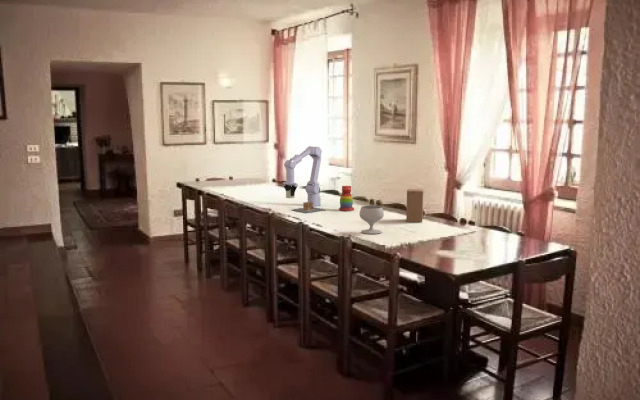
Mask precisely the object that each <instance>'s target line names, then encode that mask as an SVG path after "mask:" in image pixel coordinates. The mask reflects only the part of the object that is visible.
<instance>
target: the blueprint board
mask: <svg viewBox="0 0 640 400" xmlns="http://www.w3.org/2000/svg"><path fill="white" fill-rule="evenodd" d="M292 211H293V212H298V213H302V214H312V213H318V212H323V211H326V208H325V209H324V208H320V207H315V206H313V210H303V207H301V208H300V207H299V208H294V209H291V212H292Z"/></svg>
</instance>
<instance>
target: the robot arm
mask: <svg viewBox="0 0 640 400" xmlns="http://www.w3.org/2000/svg"><path fill="white" fill-rule="evenodd" d="M308 156H309V157H311V159H312V160H313V161H312V167H311V173H310V178H309V180H308V181H307V183H306V185H305V192H306V194H307V202H312V203H313V207H317V206H322V203H321V199H322V198H321V194H320V193H319V192H320V183H319V182H318V179H319V172H320V168H321V161H322V149H321V147H320V146H311V145H309V146H307V147H306V148H305V150H303V151H302V152H300V154H294V156H293V157H290V159H287V160H285V161H284V163H283V166H284V168H285V176H286V177H285V180H286V181H283V182H282V185H283V188H284V191H285V192H286V191H289V190H290V191H291V196H294V194H295V193H296V191H297V189H298V183H296V182H295V168H296V166H297V165H298V164H299V163H301V162H302V159H304V158H306V157H308Z"/></svg>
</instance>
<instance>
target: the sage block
mask: <svg viewBox="0 0 640 400" xmlns="http://www.w3.org/2000/svg"><path fill="white" fill-rule="evenodd" d="M295 197H296V195H295V194H294V196H291V191H290V190H289V191H286V190H285V198H286V199H295Z"/></svg>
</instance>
